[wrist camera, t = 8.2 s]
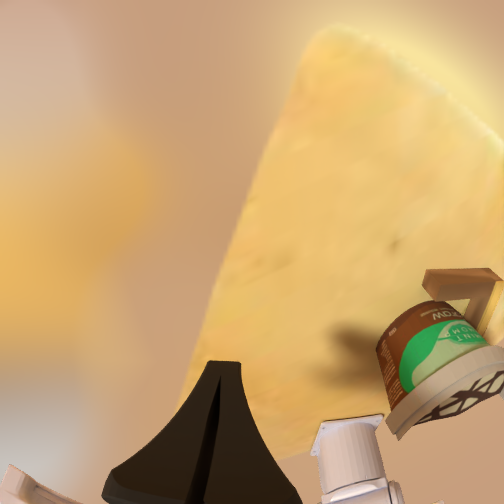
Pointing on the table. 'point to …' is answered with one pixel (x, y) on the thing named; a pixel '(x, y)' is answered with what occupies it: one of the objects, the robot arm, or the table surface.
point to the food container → (436, 366)
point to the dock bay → (467, 291)
